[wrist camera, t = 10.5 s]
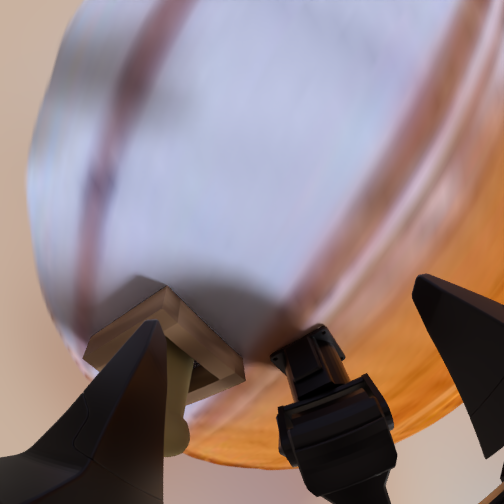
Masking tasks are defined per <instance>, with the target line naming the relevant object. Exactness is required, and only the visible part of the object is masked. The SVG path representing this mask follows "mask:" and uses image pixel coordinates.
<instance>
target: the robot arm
mask: <svg viewBox="0 0 504 504" xmlns="http://www.w3.org/2000/svg"><path fill="white" fill-rule="evenodd" d="M412 299H413V302H414V304H415V306H416V308H417V310H418V312H419V314H420V316H421V318H422V321H423V323H424V325H425V327H426V329H427V331H428V333H429V335H430V337H431V339H432V340H433V342H434V344H435V346H436V348H437V350H438V351H439V353H440V355H441V357H442V359H443V361H444V363H445V365H446V367H447V369H448V371H449V373H450V375H451V377H452V379H453V381H454V383H455V385H456V387H457V389H458V391H459V394H460V396H461V398H462V400H463V403H464V405H465V407H466V409H467V412H468V414H469V416H470V419H471V422H472V424H473V427H474V429H475V432H476V434H477V437H478V440H479V442H480V446H481V448H482V451H483V454H484V457H485V459H487V458H489V457H490V456H492V455H493V454H494V453H496V452H497V451H498V450H500V449H501V448H502V447H503V446H504V305H503V304H502V305H501V304H500V303H498V302H496V301H493V300H491V299H489V298H486V297H484V296H482V295H479V294H477V293H475V292H472V291H470V290H467V289H465V288H462V287H460V286H457V285H455V284H453V283H450V282H448V281H445V280H442V279H440V278H437V277H435V276H432V275H430V274H421V275H418V276H417V278H416V280H415V284H414V288H413V291H412ZM323 331H324V332H323ZM275 357H276V358H275ZM344 359H345V355H344V353H343V352H342V350H341V348H340V347H339V345H338V344H337V342H336V341H335V339H334V338H333V336H332V334H331V333H330V331H329V330H328V328H327V327H325V326H323V327H320V328H319V329H317V330H315V331H313V332H312V333H310V334H308V335H306V336H305V337H303V338H301V339H299V340H297V341H296V342H294V343H292V344H290V345H288V346H286V347H284V348H283V349H281V350H279V351H277V352H275V353H273V354H271V355H270V360H271V362H272V363H273V364H275V365H276V366H277V367H278V368H279V369H280V370H281V371H282V372H283V373H284V374H285V375H286V376H287V379H288V382H289V386H290V389H291V393H292V396H293V400H294V403H292V404H289V405H286V406H280V407H278V414H277V417H276V419H277V424H278V428H279V453H280V454H281V455H283V456H285V457H286V458H287V460H288V461H289V463H290V464H291V466H292V467H297V466H298V467H299V470H300V472H301V475H302V478H303V481H304V483H305V485H306V487H307V489H308V490H309V491H310V492H311V493H312V494H314V495H315V496H316V497H319V496H321V497H323V498H325V499H326V500H328V501H329V502H331V503H332V504H391V502H390V499H389V496H388V493H387V489H386V482H387V479H388V476H389V473H390V470H391V469H392V468H394V467H395V465H396V460H397V452H396V449H395V446H394V442H393V439H392V436H391V433H390V431H391V430H393V428H394V422H393V418H392V415H391V412H390V409H389V407H388V405H387V403H386V401H385V399H384V398H383V396H382V395H381V393H380V392H379V390H378V389H377V387H376V386H375V384H374V383H373V381H372V380H371V378H370V377H369V376H368V374H367V373H366V374H363V375H361V377H359V378H357V379H355V380H352V381H350V379H349V376H348V374H347V372H346V370H345V368H344V366H343V364H342V362H341V361H343V360H344ZM167 386H168V383H167V343H166V338H165V335H164V332H163V330H162V327H161V325H160V322H159V321H158V320H157V319H152V320H146V321H144V322H143V323H142V324H141V326H140V327H139V328H138V329H137V330H136V331H135V332H134V333H133V335H132V336H131V337H130V338H129V339H128V340H127V341H126V342H125V344H124V345H123V346H122V347H121V348H120V349H119V350H118V352H117V353H116V354H115V355H114V356H113V357H112V358H111V360H110V361H109V362H108V363H107V364H106V365H105V367H104V368H103V369H102V370H101V371H100V372H99V374H98V375H97V376H96V377H95V378H94V379H93V381H92V382H91V383H90V384H89V385H88V387H87V388H86V389H85V390H84V393H82V394H81V395H80V396H79V397H78V398H77V400H76V401H75V402H74V403H73V404H72V405H71V407H70V408H69V409H68V410H67V411H66V412H65V413H64V414H63V416H61V417H60V419H59V420H58V421H57V422H56V423H55V424H54V425H53V426H52V427H51V428H50V429H49V430H48V431H47V432H46V433H45V434H44V435H43V436H42V437H41V438H40V439H39V440H38V441H37V442H36V443H35V444H34V445H33V446H32V447H31V448H29V449H28V450H26V451H25V452H23V453H20V454H17V455H13V456H7V457H1V458H0V504H163V459H164V433H165V415H166V401H167ZM500 479H501V481H502V484H501V485H499V486H498V487H497V488H496V489H495V490H494V491H493V492H492V493H490V494H489V495H488V496H487V497H486V498H485V499H483V500H482V501H481V502H480V503H479V504H504V464H503V468H502V473H501V477H500Z"/></svg>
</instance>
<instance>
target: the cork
mask: <svg viewBox="0 0 504 504" xmlns="http://www.w3.org/2000/svg"><path fill="white" fill-rule="evenodd" d="M165 338H166V343H167V383H168V386H167V401H166V415H165V433H164V457H171V456H176V455H179V454H181V453H183V452H184V450H185V449H186V448H187V446H188V444H189V441H190V433H189V428H188V425H187V422H186V421H185V420H184V419H183V416H184V410H185V405H186V400H187V394H188V389H189V384H190V379H191V374H192V369H193V364H194V359H193V358H192V357H190V356H189V355H188V354H187V353H185V352H184V351H183V350H182V349H181V348H179V347H178V346H177V345H176V344H175V343H174V342H172V341H171V340H170V339H169V338H168V337H167V336H165Z"/></svg>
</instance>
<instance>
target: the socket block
mask: <svg viewBox="0 0 504 504" xmlns="http://www.w3.org/2000/svg"><path fill="white" fill-rule="evenodd" d="M152 319H157V320H158V321H159V322H160V325H161V327H162V330H163V332H164V335H165V336H167V337H168V338H169V339H170V340H171V341H172V342H174V343H175V344H176V345H177V346H178V347H179V348H181V349H182V350H183V351H184V352H185V353H187V354H188V355H189V356H190V357H192V358H193V359H194V360H195V361H196V362H198V363H199V364H200V366H198V367H196V368H193V369H192V374H191V379H190V384H189V389H188V394H187V400H186V405H189V404H192V403H194V402H197V401H199V400H202V399H205V398H207V397H210V396H212V395H215V394H217V393H219V392H222V391H224V390H226V389H229V388H231V387H233V386H236V385H238V384H240V383H242V382H245V381H246V379H245V373H244V366H243V359H242V357H241V356H240V355H238V354H237V353H236V352H235V351H234V350H233V349H232V348H231V347H230V346H229V345H227V344H226V343H225V342H224V341H223V340H222V339H221V338H220V337H219V336H218V335H217V334H216V333H215V332H214V331H212V330H211V329H210V328H209V327H208V326H207V325H206V324H205V323H204V322H203V321H202V320H201V319H200V318H199V317H198V316H197V315H196V314H195V313H194V312H193V311H192V310H191V309H190V308H189V307H188V306H187V305H186V304H185V303H184V302H183V301H182V300H181V299H180V298H179V297H178V296H177V295H176V294H175V293H174V292H173V291H172V290H171V289H170V288H169V287H168V285H167V286H166V287H164V288H163V289H161V290H160V291H158V292H157V293H155V294H154V295H152V296H151V297H149V298H148V299H146V300H145V301H143V302H142V303H140V304H139V305H137V306H136V307H134V308H133V309H131V310H130V311H128V312H127V313H125V314H124V315H123V316H121V317H120V318H118V319H117V320H115V321H114V322H112V323H111V324H109V325H108V326H106V327H105V328H104V329H102V330H101V331H99V332H98V333H96V334H95V335H93V336H92V337H91V338H90V341H89V343H88V346H87V348H86V351H85V353H84V356H83V358H82V359H84V360H85V361H86V362H87V363H89V364H90V365H91V366H93V367H94V368H95V369H96V370H98V371H99V372H100V371H101V370H102V369H103V368H104V367H105V365H106V364H107V363H108V362H109V361H110V360H111V358H112V357H113V356H114V355H115V354H116V353H117V352H118V350H119V349H120V348H121V347H122V346H123V345H124V344H125V342H126V341H127V340H128V339H129V338H130V337H131V336H132V335H133V333H134V332H135V331H136V330H137V329H138V328H139V327H140V326H141V324H142V323H143V322H144V321H146V320H152ZM186 405H185V406H186Z"/></svg>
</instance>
